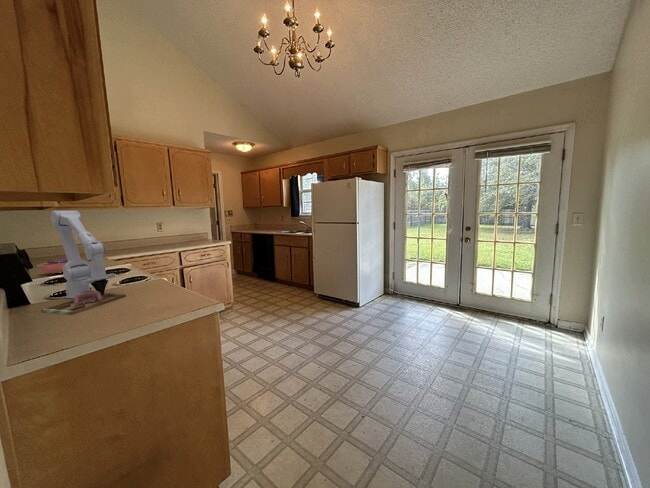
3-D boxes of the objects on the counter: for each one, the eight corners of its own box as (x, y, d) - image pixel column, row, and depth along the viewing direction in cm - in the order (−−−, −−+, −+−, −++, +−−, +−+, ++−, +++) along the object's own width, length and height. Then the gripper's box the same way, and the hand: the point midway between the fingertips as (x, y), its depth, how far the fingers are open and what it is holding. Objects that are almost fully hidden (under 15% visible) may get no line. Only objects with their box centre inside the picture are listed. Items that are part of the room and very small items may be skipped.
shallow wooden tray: (41, 312, 119) (40, 309, 119) (98, 294, 142) (97, 292, 142) (72, 314, 115) (72, 311, 115) (125, 296, 138) (125, 294, 138)
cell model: (40, 274, 197) (37, 259, 196) (77, 269, 210) (75, 255, 209) (37, 278, 185) (35, 261, 183) (77, 273, 198) (75, 257, 196)
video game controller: (102, 303, 133) (100, 289, 135) (102, 301, 130) (100, 287, 131) (75, 308, 126) (73, 294, 128) (74, 306, 123) (72, 291, 125)
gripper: (88, 271, 125) (92, 300, 127) (118, 265, 139) (121, 291, 141) (76, 271, 127) (80, 299, 129) (107, 264, 141) (110, 290, 143)
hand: (101, 295), depth 135 cm, fingers closed
